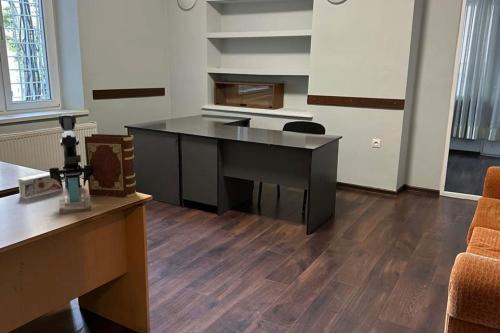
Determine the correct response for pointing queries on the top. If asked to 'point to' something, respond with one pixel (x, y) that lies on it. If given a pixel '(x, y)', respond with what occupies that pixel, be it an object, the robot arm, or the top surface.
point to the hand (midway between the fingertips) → (73, 187)
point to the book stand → (74, 205)
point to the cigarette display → (37, 185)
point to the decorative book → (111, 165)
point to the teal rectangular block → (73, 190)
